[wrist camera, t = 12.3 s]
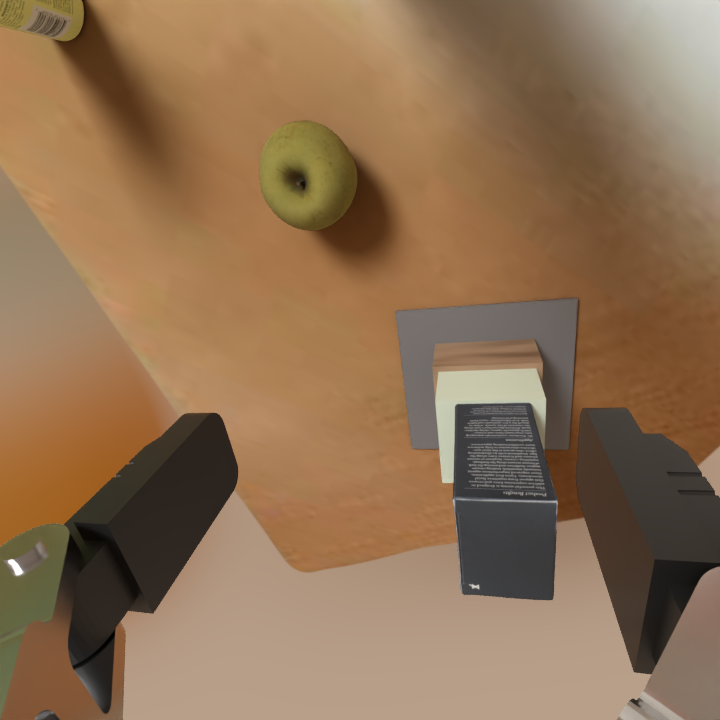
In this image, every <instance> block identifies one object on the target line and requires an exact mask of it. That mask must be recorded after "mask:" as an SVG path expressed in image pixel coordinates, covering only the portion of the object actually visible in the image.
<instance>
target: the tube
mask: <svg viewBox="0 0 720 720" xmlns="http://www.w3.org/2000/svg"><path fill="white" fill-rule="evenodd" d="M83 19H84V7H83V3H82V0H0V27H4V28H8V29H12V30H17V31H21V32H26V33H30V34H34V35H38V36H42V37H46V38H51V39H55V40H60V41H69V40H72V39H73V38H75V37H76V36H77V35H78V34H79V32H80V31H81V28H82V25H83Z"/></svg>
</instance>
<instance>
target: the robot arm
mask: <svg viewBox="0 0 720 720" xmlns="http://www.w3.org/2000/svg"><path fill="white" fill-rule="evenodd" d="M237 479H238V465H237V462H236V459H235V456H234V453H233V450H232V446H231V443H230V440H229V437H228V434H227V431H226V428H225V425H224V422H223V420H222V418H221V416H220V415H218V414H217V413H187V414H184V415H182V416H181V417H180V418H179V419H178V420H177V421H176V422H175V423H174V424H173V425H172V426H171V427H170V428H169V429H168V430H167V431H166V432H165V433H164V434H163V435H162V436H161V437H159V438H158V439H156V440H155V441H153V442H151V443H150V444H149V445H147V446H145V447H144V448H143V449H142V450H141V451H140V452H139V453H138V454H137V455H136V456H135V457H134V458H132V459H131V460H130V461H129V465H125V466H124V467H123V468H122V469H121V470H120V471H119V472H118V473H117V474H116V477H113V478H112V479H111V480H110V481H109V482H108V483H107V484H106V485H104V486H103V487H102V488H101V489H100V490H99V491H98V492H97V493H96V494H95V495H94V496H93V497H92V498H91V499H90V500H89V501H88V502H87V503H86V504H85V505H84V506H83V507H82V508H81V509H80V510H79V511H77V513H75V514H74V515H73V516H72V517H71V518H70V519H69V520H68V521H67V522H66V523H65V524H64V525H62V524H46V525H42V526H39V527H36V528H33V529H31V530H28V531H25V532H24V533H21V534H19V535H18V536H16V537H14V538H12V539H11V540H9V541H8V542H6V543H5V544H3V545H2V546H1V547H0V720H123V696H124V665H125V629H124V626H123V624H122V623H121V620H122V618H123V617H124V616H125V614H126V613H127V611H135V612H144V613H154V611H155V610H156V608H157V607H158V605H159V604H160V602H161V601H162V599H163V598H164V596H165V595H166V593H167V591H168V590H169V589H170V587H171V585H172V584H173V582H174V581H175V579H176V578H177V576H178V575H179V573H180V572H181V570H182V569H183V567H184V566H185V564H186V563H187V561H188V560H189V558H190V556H191V555H192V553H193V552H194V550H195V549H196V547H197V545H198V544H199V543H200V541H201V540H202V538H203V537H204V535H205V534H206V532H207V530H208V529H209V527H210V526H211V524H212V523H213V521H214V520H215V518H216V517H217V515H218V514H219V512H220V511H221V509H222V508H223V506H224V505H225V503H226V501H227V500H228V498H229V497H230V495H231V494H232V492H233V491H234V489H235V487H236V484H237ZM576 484H577V492H578V498H579V502H580V505H581V508H582V511H583V515H584V518H585V521H586V524H587V527H588V530H589V533H590V536H591V540H592V543H593V546H594V549H595V552H596V555H597V558H598V561H599V564H600V568H601V571H602V574H603V577H604V580H605V583H606V586H607V589H608V592H609V596H610V599H611V602H612V605H613V608H614V611H615V614H616V617H617V620H618V624H619V627H620V630H621V633H622V636H623V639H624V642H625V645H626V649H627V652H628V655H629V658H630V661H631V664H632V667H633V670H634V672H637V673H645V674H652V675H651V677H650V679H649V681H648V683H647V685H646V687H645V689H644V690H643V692H642V694H641V696H640V697H639V698H638V700H635V699H631V700H630V701H629V702H628V703H627V705H626V706H625V708H624V709H623V711H622V712H621V714H620V715H619V717H618V719H617V720H720V498H719V496H716V495H715V491H714V489H713V488H712V486H711V485H710V484H709V482H708V481H707V479H706V478H705V477H702V473H701V471H700V470H699V468H698V467H697V465H696V464H695V463H694V461H693V460H692V458H691V457H690V456H689V454H688V453H687V451H685V450H684V449H682V448H681V447H679V446H678V445H677V444H675V443H674V442H672V441H671V440H669V439H668V438H666V437H665V436H663V435H662V434H643V433H642V431H641V430H640V428H639V426H638V425H637V423H636V421H635V420H634V418H633V416H632V415H631V413H630V412H629V410H628V409H627V408H583V409H582V411H581V414H580V423H579V437H578V451H577V465H576Z"/></svg>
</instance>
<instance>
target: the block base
mask: <svg viewBox="0 0 720 720" xmlns="http://www.w3.org/2000/svg"><path fill="white" fill-rule="evenodd" d="M533 368H536V369H537V372H538V375H539V379H540V382H541V385H542V377H543V362H542V359H541V356H540V353H539V350H538V348H537V345H536V342H535V339H518V340H499V341H479V342H460V343H441V344H435V350H434V358H433V365H432V370H433V382H434V393H435V399H436V390H437V381H438V372H450V371H478V370H505V369H533Z"/></svg>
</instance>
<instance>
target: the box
mask: <svg viewBox="0 0 720 720" xmlns="http://www.w3.org/2000/svg"><path fill="white" fill-rule="evenodd" d="M454 439H455V443H454V481H453V499H452V501H453V506H454V513H455V521H456V532H457V543H458V555H459V569H460V589H461V592H462V593H463V594H464V595H484V596H496V597H506V598H519V599H533V600H552V599H553V596H554V571H555V553H556V528H557V510H558V501H557V497H556V494H555V490H554V486H553V483H552V479H551V476H550V472H549V468H548V465H547V461H546V458H545V454H544V450H543V446H542V443H541V439H540V435H539V431H538V428H537V424H536V420H535V417H534V413H533V409H532V405H531V404H530V403H483V404H481V403H478V404H457V405H456V406H455V438H454Z"/></svg>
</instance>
